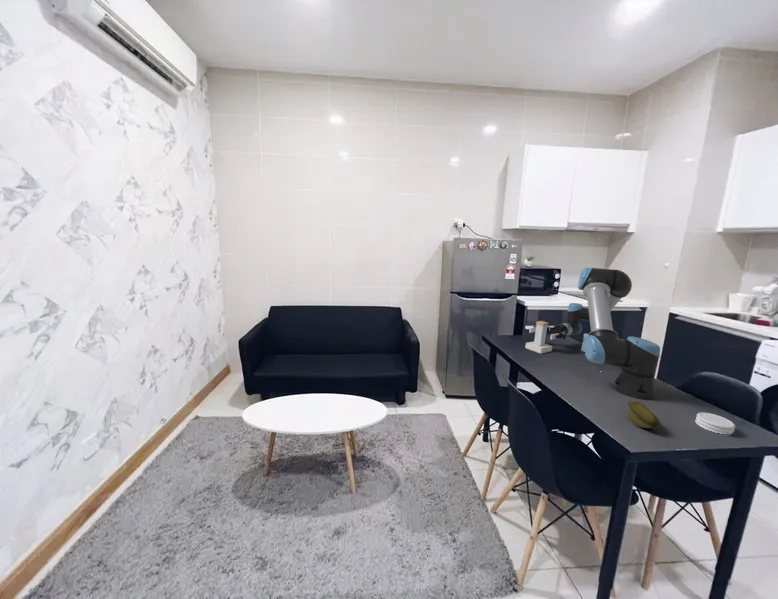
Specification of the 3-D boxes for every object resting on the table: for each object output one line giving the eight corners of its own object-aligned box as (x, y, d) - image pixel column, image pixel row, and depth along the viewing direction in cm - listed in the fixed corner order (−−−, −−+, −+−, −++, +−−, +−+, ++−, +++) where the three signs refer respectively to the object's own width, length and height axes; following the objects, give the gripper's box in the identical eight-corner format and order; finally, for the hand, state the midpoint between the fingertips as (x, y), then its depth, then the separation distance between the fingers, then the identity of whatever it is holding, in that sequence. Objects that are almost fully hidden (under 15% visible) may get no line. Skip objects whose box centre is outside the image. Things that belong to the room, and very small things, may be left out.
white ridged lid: (714, 421, 126) (717, 412, 125) (741, 437, 116) (744, 428, 115) (687, 419, 126) (689, 410, 125) (712, 435, 116) (714, 426, 115)
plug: (544, 350, 193) (548, 322, 190) (539, 351, 191) (543, 323, 188) (537, 347, 197) (541, 320, 194) (532, 348, 195) (536, 321, 192)
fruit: (616, 420, 122) (619, 403, 121) (629, 411, 129) (632, 395, 128) (654, 436, 113) (658, 418, 112) (666, 426, 120) (670, 409, 119)
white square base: (551, 352, 193) (552, 346, 192) (540, 355, 187) (541, 348, 187) (535, 347, 201) (536, 340, 200) (525, 349, 196) (526, 342, 195)
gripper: (581, 342, 194) (559, 346, 183) (542, 330, 215) (521, 333, 204) (584, 329, 192) (561, 333, 181) (544, 319, 213) (522, 321, 202)
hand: (540, 333), depth 193 cm, fingers open, 13 cm apart
